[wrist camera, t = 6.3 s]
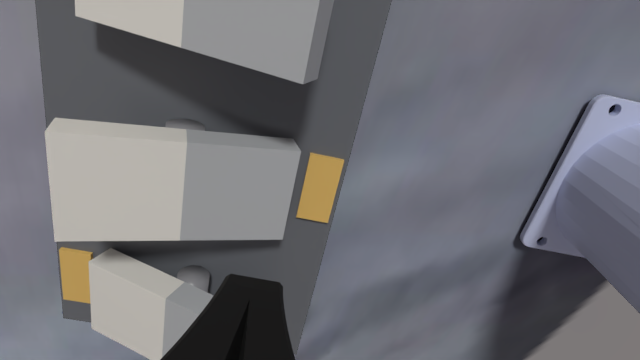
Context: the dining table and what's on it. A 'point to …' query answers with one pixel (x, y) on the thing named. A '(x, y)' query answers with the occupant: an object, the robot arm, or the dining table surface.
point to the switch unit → (217, 116)
